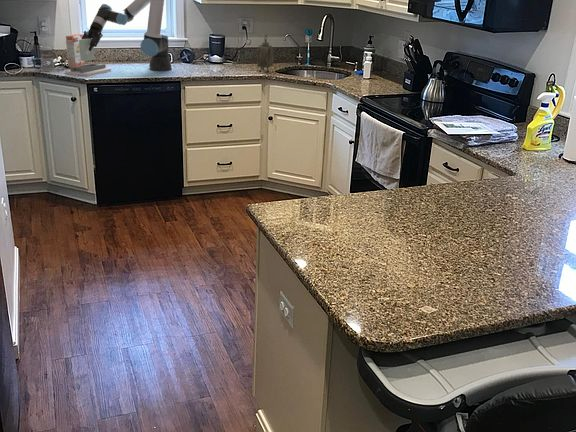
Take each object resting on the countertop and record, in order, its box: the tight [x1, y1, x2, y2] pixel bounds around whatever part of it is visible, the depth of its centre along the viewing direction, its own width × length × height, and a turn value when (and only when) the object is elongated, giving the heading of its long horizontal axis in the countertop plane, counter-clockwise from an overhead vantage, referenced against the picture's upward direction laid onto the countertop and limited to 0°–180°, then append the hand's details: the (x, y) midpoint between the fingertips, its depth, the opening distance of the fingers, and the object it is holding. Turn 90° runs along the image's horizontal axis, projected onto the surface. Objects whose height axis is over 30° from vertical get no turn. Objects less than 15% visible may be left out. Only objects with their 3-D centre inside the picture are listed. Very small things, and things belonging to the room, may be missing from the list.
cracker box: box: [65, 33, 86, 69], centre depth 423 cm, size 14×6×21 cm, turn 171°
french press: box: [39, 30, 59, 72], centre depth 404 cm, size 10×12×25 cm
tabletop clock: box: [256, 34, 275, 73], centre depth 435 cm, size 14×9×25 cm, turn 170°
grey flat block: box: [64, 62, 112, 77], centre depth 408 cm, size 18×24×4 cm
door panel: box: [79, 39, 96, 62], centre depth 404 cm, size 4×9×13 cm, turn 158°
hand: (83, 53), depth 401 cm, fingers closed on door panel, 4 cm apart
